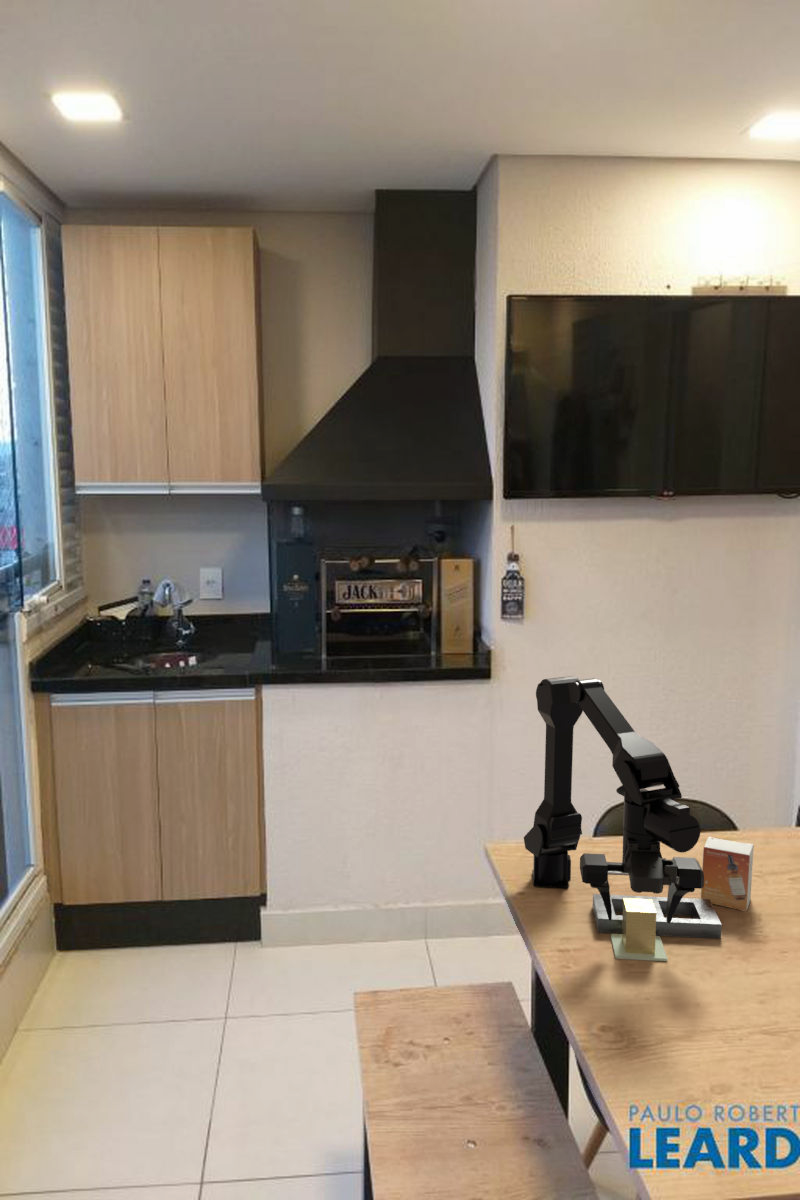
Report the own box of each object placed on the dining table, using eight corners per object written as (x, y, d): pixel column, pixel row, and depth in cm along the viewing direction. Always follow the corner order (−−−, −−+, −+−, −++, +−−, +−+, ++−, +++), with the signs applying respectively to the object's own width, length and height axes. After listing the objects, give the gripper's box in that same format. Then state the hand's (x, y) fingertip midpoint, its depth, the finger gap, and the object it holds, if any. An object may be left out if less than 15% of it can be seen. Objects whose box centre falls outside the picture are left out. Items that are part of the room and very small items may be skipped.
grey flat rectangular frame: (597, 932, 151) (598, 918, 151) (592, 907, 160) (593, 894, 160) (721, 938, 149) (721, 924, 149) (709, 912, 158) (709, 899, 158)
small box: (699, 902, 162) (702, 846, 160) (705, 889, 167) (707, 835, 165) (747, 912, 158) (750, 855, 157) (751, 898, 163) (754, 843, 162)
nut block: (625, 952, 144) (626, 911, 143) (621, 938, 149) (623, 898, 148) (654, 954, 144) (656, 912, 143) (650, 939, 148) (651, 899, 147)
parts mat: (615, 958, 143) (615, 956, 143) (610, 936, 150) (610, 934, 150) (667, 961, 142) (667, 958, 142) (659, 938, 149) (660, 936, 149)
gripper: (586, 846, 137) (584, 943, 139) (713, 851, 135) (709, 949, 137) (580, 818, 148) (578, 908, 150) (698, 823, 145) (694, 914, 148)
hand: (638, 920), depth 146 cm, fingers open, 9 cm apart
